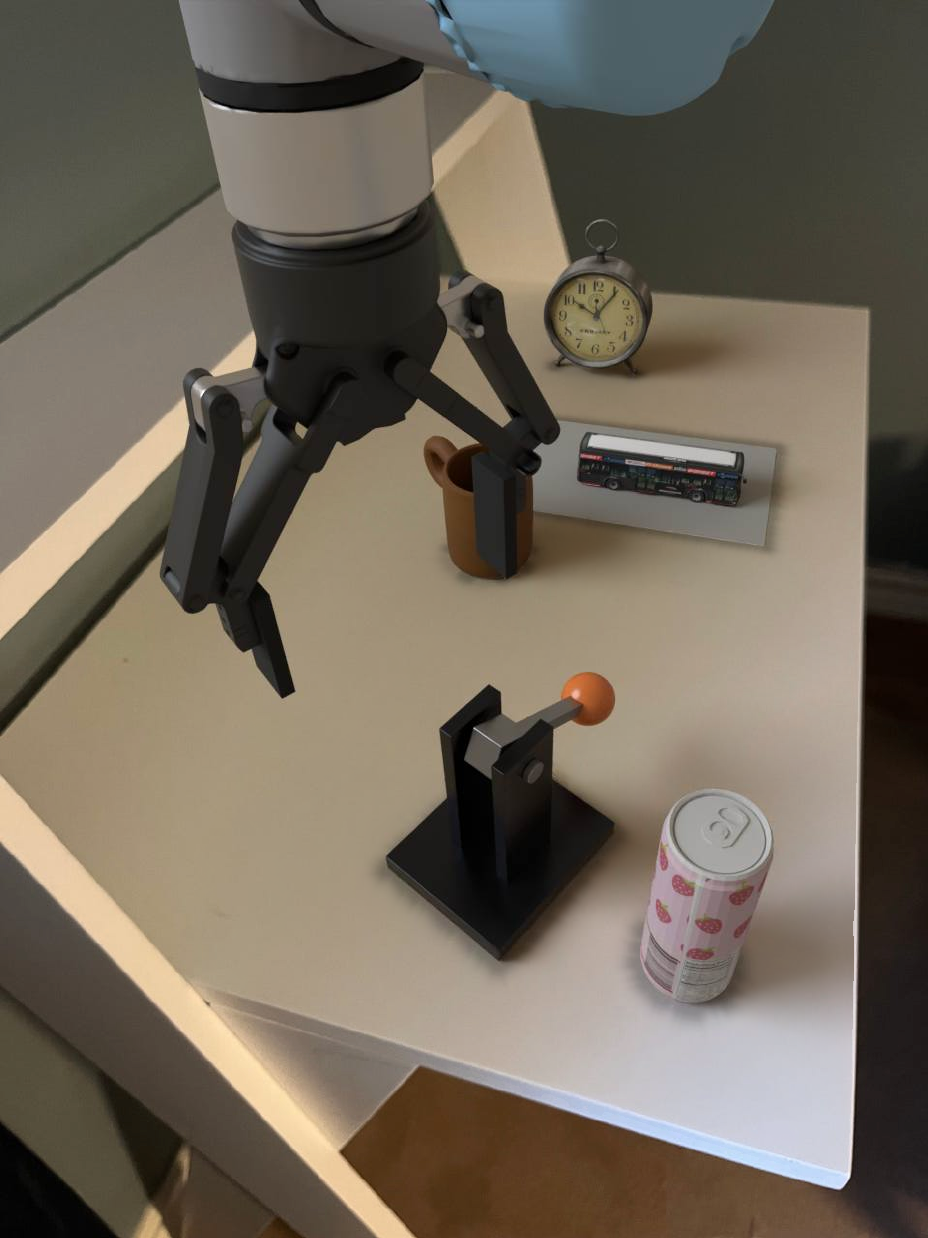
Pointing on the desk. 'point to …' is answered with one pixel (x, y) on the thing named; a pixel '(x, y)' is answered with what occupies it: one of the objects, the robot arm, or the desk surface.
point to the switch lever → (580, 702)
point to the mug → (470, 506)
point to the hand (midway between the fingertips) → (392, 618)
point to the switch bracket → (499, 834)
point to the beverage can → (704, 892)
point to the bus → (656, 482)
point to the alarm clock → (598, 310)
